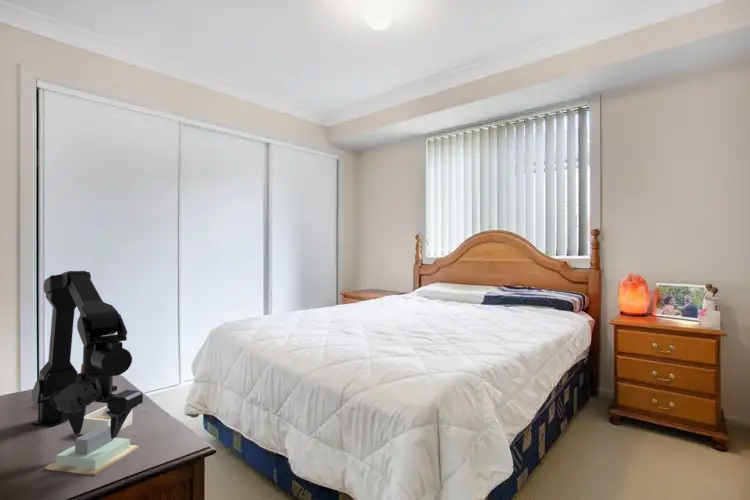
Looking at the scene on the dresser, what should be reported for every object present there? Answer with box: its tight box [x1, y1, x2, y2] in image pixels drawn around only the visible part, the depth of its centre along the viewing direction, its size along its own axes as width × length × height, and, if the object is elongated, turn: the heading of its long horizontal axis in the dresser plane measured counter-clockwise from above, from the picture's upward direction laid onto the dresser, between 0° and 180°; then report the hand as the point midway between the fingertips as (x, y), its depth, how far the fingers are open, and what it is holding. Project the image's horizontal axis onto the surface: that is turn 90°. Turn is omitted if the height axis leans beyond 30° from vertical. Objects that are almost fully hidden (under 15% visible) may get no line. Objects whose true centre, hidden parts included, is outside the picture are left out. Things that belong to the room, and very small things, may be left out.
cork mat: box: [44, 444, 140, 476], centre depth 87 cm, size 12×12×1 cm
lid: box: [55, 425, 131, 469], centre depth 88 cm, size 10×10×5 cm
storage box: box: [78, 405, 134, 435], centre depth 102 cm, size 8×8×4 cm
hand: (95, 436), depth 87 cm, fingers open, 9 cm apart
